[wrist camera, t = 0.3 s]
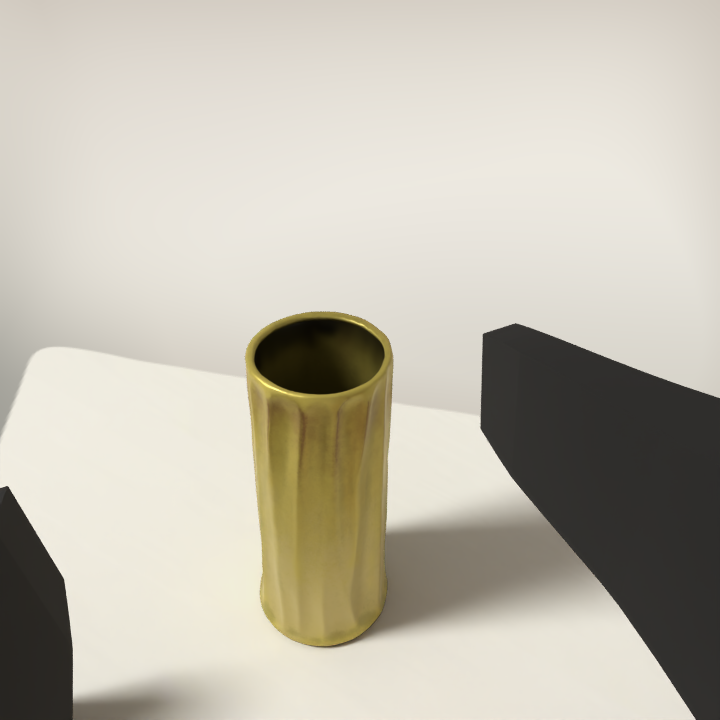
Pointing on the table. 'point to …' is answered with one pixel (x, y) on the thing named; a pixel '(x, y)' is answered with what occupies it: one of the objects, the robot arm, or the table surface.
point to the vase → (321, 472)
